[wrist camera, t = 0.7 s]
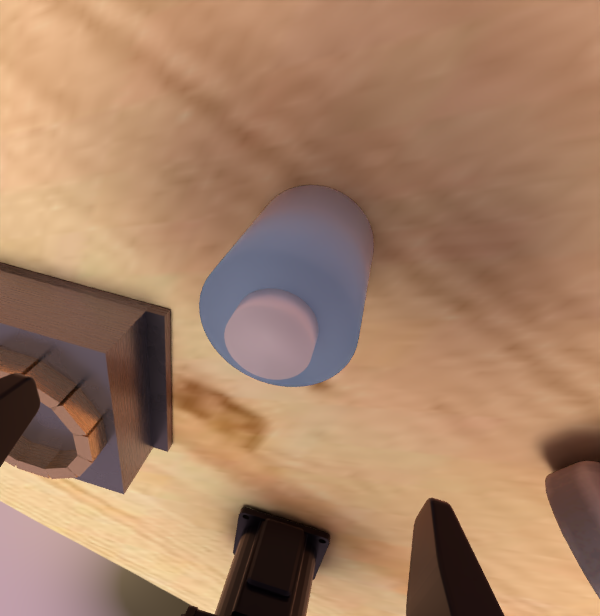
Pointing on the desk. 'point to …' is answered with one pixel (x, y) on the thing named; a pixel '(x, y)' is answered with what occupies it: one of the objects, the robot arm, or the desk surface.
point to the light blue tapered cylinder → (292, 289)
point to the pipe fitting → (579, 513)
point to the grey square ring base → (86, 377)
